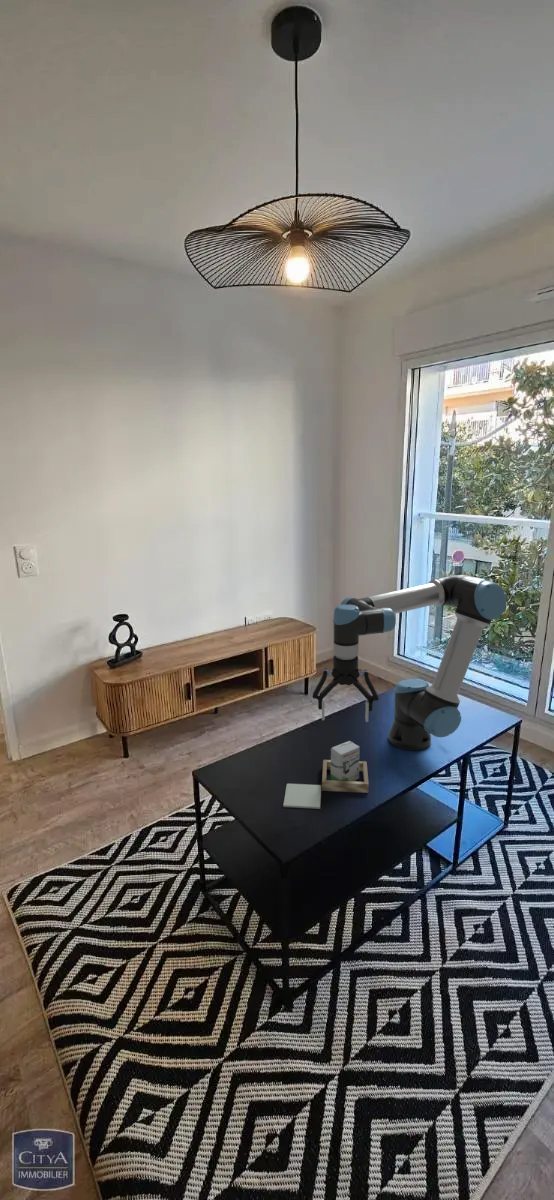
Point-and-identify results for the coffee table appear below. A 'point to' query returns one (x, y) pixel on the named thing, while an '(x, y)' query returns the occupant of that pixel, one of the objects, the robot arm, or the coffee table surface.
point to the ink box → (345, 762)
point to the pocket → (345, 785)
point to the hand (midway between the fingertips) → (344, 719)
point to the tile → (302, 796)
